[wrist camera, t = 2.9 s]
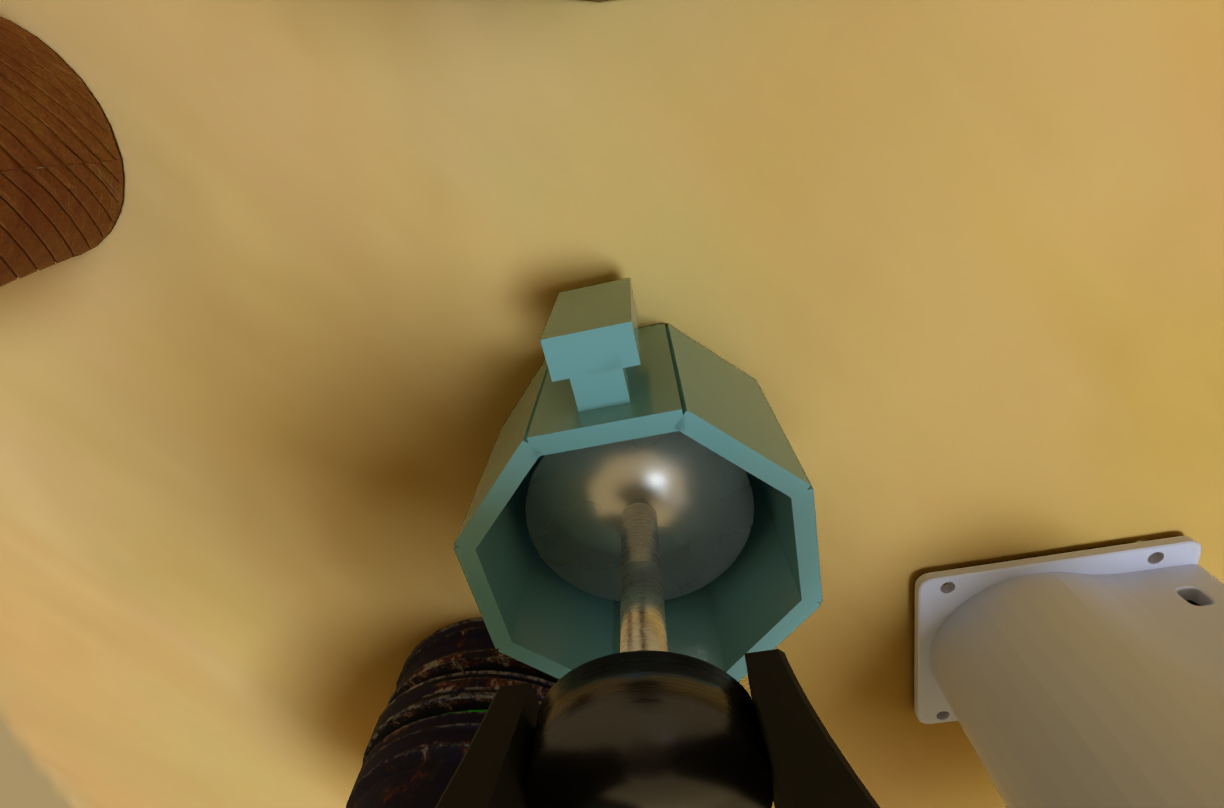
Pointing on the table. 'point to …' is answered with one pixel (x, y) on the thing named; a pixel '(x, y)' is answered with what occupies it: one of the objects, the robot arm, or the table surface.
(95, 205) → the disposable coffee cup
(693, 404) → the carafe
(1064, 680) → the robot arm
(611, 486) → the plunger
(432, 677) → the storage jar
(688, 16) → the table surface
